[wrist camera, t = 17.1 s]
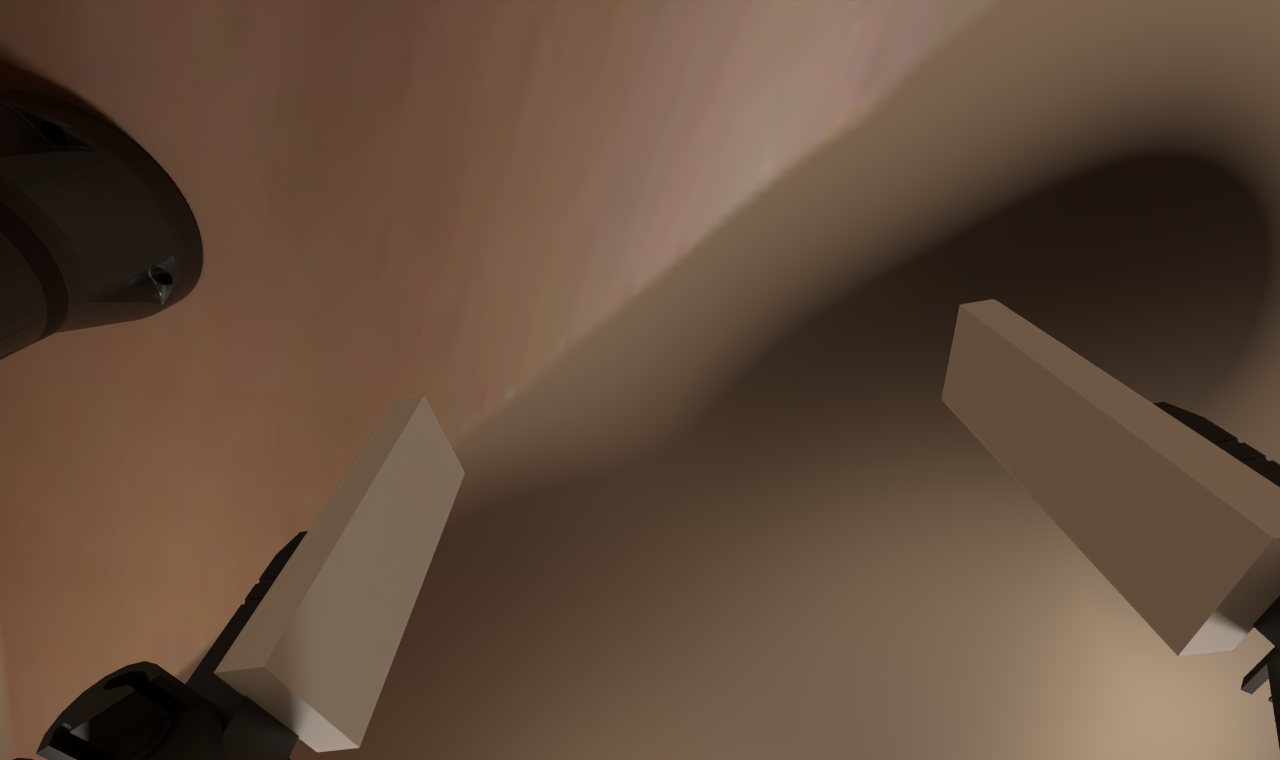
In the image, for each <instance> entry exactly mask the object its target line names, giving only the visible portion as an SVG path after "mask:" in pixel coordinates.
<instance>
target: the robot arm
mask: <svg viewBox="0 0 1280 760" xmlns="http://www.w3.org/2000/svg"><path fill="white" fill-rule="evenodd" d="M202 265H203V248H202V242H201V238H200V234H199V231H198V228H197V225H196V222H195V220H194V217H193V215H192V213H191V211H190V209H189V207H188V206H187V204H186V202H185V200H184V199H183V197H182V196H181V194H180V193H179V191H178V190H177V188H176V187H175V186H174V184H173V183H172V182H171V180H170V179H169V178H168V177H167V175H166V174H165V173H164V172H163V171H162V170H161V169H160V168H159V166H158V165H157V164H156V163H155V162H154V161H153V160H152V159H151V158H150V157H149V156H148V155H147V154H146V153H144V152H143V151H142V150H141V149H140V148H139V147H138V146H136V145H135V144H134V143H133V142H132V141H130V140H129V139H128V138H127V137H125V136H124V135H122V134H121V133H120V132H118V131H117V130H115V129H114V128H112V127H111V126H109V125H108V124H106V123H105V122H103V121H101V120H100V119H98V118H96V117H94V116H93V115H91V114H89V113H87V112H85V111H83V110H81V109H79V108H77V107H74V106H72V105H69V104H67V103H64V102H62V101H59V100H56V99H53V98H49V97H46V96H42V95H38V94H33V93H26V92H17V91H2V92H0V360H2V359H4V358H6V357H8V356H9V355H11V354H13V353H15V352H17V351H19V350H21V349H23V348H25V347H27V346H29V345H31V344H33V343H35V342H37V341H39V340H42V339H44V338H46V337H48V336H50V335H52V334H54V333H58V332H65V331H71V330H77V329H84V328H90V327H96V326H103V325H109V324H115V323H121V322H128V321H134V320H139V319H143V318H146V317H149V316H152V315H154V314H156V313H159V312H161V311H162V310H164V309H166V308H168V307H170V306H172V305H173V304H175V303H177V302H179V301H180V300H182V299H183V298H185V297H186V296H187V295H188V294H189V293H190V292H191V291H192V290H193V289H194V287H195V286H196V284H197V282H198V280H199V278H200V275H201V271H202ZM942 401H943V402H944V403H945V404H946V405H947V406H948V407H949V408H950V409H951V410H952V411H953V412H954V414H955V415H956V416H957V417H958V418H959V419H960V420H961V421H962V422H963V423H964V424H965V425H966V427H967V428H968V429H969V430H970V431H971V432H972V433H973V434H974V435H975V436H976V437H977V439H979V441H980V442H981V443H982V444H983V445H984V446H985V447H986V448H987V449H988V450H989V451H990V453H991V454H992V455H993V456H994V457H995V458H996V459H997V460H998V461H999V462H1000V463H1001V465H1002V466H1003V467H1004V468H1005V469H1006V470H1007V471H1008V472H1009V473H1010V474H1011V475H1012V477H1013V478H1014V479H1015V480H1016V481H1017V482H1018V483H1019V484H1020V485H1021V486H1022V487H1023V488H1024V490H1025V491H1026V492H1027V493H1028V494H1029V495H1030V496H1031V497H1032V498H1033V499H1034V500H1035V501H1036V502H1037V504H1038V505H1039V506H1040V507H1041V508H1042V509H1043V510H1044V511H1045V512H1046V513H1047V515H1048V516H1049V517H1050V518H1051V519H1052V520H1053V521H1054V522H1055V523H1056V524H1057V525H1058V526H1059V528H1060V529H1061V530H1062V531H1063V532H1064V533H1065V534H1066V535H1067V536H1068V537H1069V538H1070V539H1071V540H1072V542H1073V543H1074V544H1075V545H1076V546H1077V547H1078V548H1079V549H1080V550H1081V551H1082V552H1083V554H1085V556H1086V557H1087V558H1088V559H1089V560H1090V561H1091V562H1092V563H1093V564H1094V566H1095V567H1096V568H1097V569H1098V570H1099V571H1100V572H1101V573H1102V574H1103V575H1104V576H1105V577H1106V579H1107V580H1108V581H1109V582H1110V583H1111V584H1112V585H1113V586H1114V587H1115V588H1116V589H1117V591H1119V593H1120V594H1121V595H1122V596H1123V597H1124V598H1125V599H1126V600H1127V601H1128V602H1129V603H1130V605H1131V606H1132V607H1133V608H1134V609H1135V610H1136V611H1137V612H1138V613H1139V614H1140V615H1141V617H1142V618H1143V619H1144V620H1145V621H1146V622H1147V623H1148V624H1149V625H1150V626H1151V627H1152V629H1153V630H1154V631H1155V632H1156V633H1157V634H1158V635H1159V636H1160V637H1161V638H1162V639H1163V640H1164V642H1165V643H1166V644H1167V645H1168V646H1169V647H1170V648H1171V649H1172V650H1173V651H1174V652H1175V653H1176V655H1177V656H1184V655H1193V654H1202V653H1211V652H1220V651H1228V650H1233V649H1234V648H1235V647H1236V646H1237V645H1238V644H1239V643H1240V641H1241V640H1242V639H1243V638H1244V637H1245V636H1246V635H1247V634H1248V633H1249V632H1250V630H1252V628H1253V627H1255V628H1256V629H1257V630H1258V631H1259V632H1260V633H1261V634H1262V635H1264V636H1265V637H1266V638H1267V639H1268V640H1269V641H1270V642H1271V643H1272V644H1274V645H1275V647H1274V648H1273V649H1272V650H1271V651H1270V652H1269V653H1268V654H1267V655H1266V656H1265V657H1264V658H1263V659H1262V660H1261V661H1260V662H1259V663H1258V664H1257V665H1256V666H1255V667H1254V668H1253V669H1252V670H1251V671H1250V672H1249V673H1248V674H1247V675H1246V676H1245V677H1244V678H1243V683H1242V686H1241V690H1243V691H1245V692H1248V693H1250V694H1253V693H1254V692H1255V691H1256V690H1257V689H1258V688H1259V687H1260V686H1261V685H1262V684H1263V683H1264V682H1265V681H1266V680H1267V679H1269V682H1270V689H1271V695H1272V696H1271V697H1270V698H1269V701H1270V702H1272V703H1273V709H1274V715H1275V722H1276V728H1277V735H1278V741H1279V748H1280V465H1279V464H1278V463H1276V462H1274V461H1267V460H1266V458H1265V457H1266V456H1265V455H1263V454H1261V453H1260V452H1258V451H1257V450H1255V449H1254V448H1252V447H1251V446H1249V445H1247V444H1246V443H1239V442H1238V440H1237V438H1236V437H1234V436H1233V435H1231V434H1230V433H1228V432H1226V431H1225V430H1223V429H1222V428H1220V427H1218V426H1217V425H1215V424H1214V423H1212V422H1210V421H1209V420H1207V419H1206V418H1204V417H1201V416H1199V415H1196V414H1194V413H1191V412H1189V411H1186V410H1184V409H1181V408H1178V407H1176V406H1173V405H1171V404H1168V403H1166V402H1160V403H1153V404H1152V403H1151V402H1149V401H1148V400H1146V399H1145V398H1143V397H1141V396H1140V395H1139V394H1137V393H1136V392H1134V391H1132V390H1131V389H1130V388H1128V387H1127V386H1125V385H1124V384H1122V383H1121V382H1119V381H1118V380H1116V379H1115V378H1113V377H1112V376H1110V375H1108V374H1107V373H1105V372H1104V371H1102V370H1101V369H1099V368H1098V367H1096V366H1095V365H1093V364H1092V363H1090V362H1089V361H1087V360H1086V359H1084V358H1082V357H1081V356H1080V355H1078V354H1077V353H1075V352H1073V351H1072V350H1070V349H1069V348H1067V347H1066V346H1064V345H1063V344H1061V343H1060V342H1058V341H1057V340H1055V339H1054V338H1052V337H1051V336H1049V335H1048V334H1046V333H1045V332H1043V331H1042V330H1040V329H1039V328H1037V327H1036V326H1034V325H1033V324H1031V323H1029V322H1028V321H1027V320H1025V319H1024V318H1022V317H1020V316H1019V315H1017V314H1016V313H1014V312H1013V311H1011V310H1010V309H1008V308H1007V307H1005V306H1004V305H1002V304H1001V303H999V302H998V301H996V300H995V299H992V300H987V301H980V302H974V303H969V304H963V305H960V308H959V313H958V318H957V323H956V328H955V333H954V339H953V344H952V349H951V354H950V359H949V364H948V369H947V374H946V379H945V385H944V389H943V395H942ZM463 476H464V471H463V469H462V467H461V465H460V463H459V461H458V459H457V458H456V456H455V454H454V452H453V450H452V448H451V446H450V444H449V442H448V440H447V438H446V436H445V434H444V432H443V431H442V429H441V427H440V425H439V423H438V421H437V419H436V417H435V415H434V413H433V411H432V409H431V407H430V406H429V404H428V402H427V400H426V398H425V396H424V395H422V396H416V397H410V398H405V399H399V400H395V402H394V403H393V405H392V406H391V408H390V409H389V411H388V412H387V414H386V415H385V417H384V418H383V420H382V421H381V423H380V424H379V426H378V427H377V429H376V430H375V432H374V433H373V435H372V436H371V438H370V439H369V441H368V442H367V444H366V445H365V447H364V448H363V450H362V451H361V453H360V454H359V456H358V457H357V459H356V460H355V462H354V463H353V465H352V466H351V468H350V469H349V471H348V472H347V474H346V475H345V477H344V478H343V480H342V481H341V483H340V484H339V486H338V487H337V489H336V490H335V492H334V493H333V495H332V496H331V498H330V499H329V501H328V502H327V504H326V505H325V507H324V508H323V510H322V511H321V513H320V514H319V516H318V517H317V519H316V520H315V522H314V523H313V525H312V526H311V528H310V529H309V531H305V532H300V533H299V534H298V535H297V536H296V537H294V538H293V539H292V540H291V541H290V542H289V543H288V544H287V545H286V546H285V547H284V548H283V549H282V550H281V551H279V552H278V553H277V554H276V556H275V557H274V558H273V560H272V561H271V563H270V564H269V566H268V567H267V568H266V570H265V571H264V573H263V574H262V576H261V577H260V578H259V580H260V582H259V584H255V586H254V587H253V588H252V590H251V591H250V593H249V594H248V596H247V597H246V598H245V604H243V605H241V606H240V607H239V608H238V610H237V611H236V613H235V614H234V616H233V617H232V618H231V620H230V621H229V623H228V624H227V626H226V627H225V628H224V630H223V631H222V633H221V634H220V636H219V637H218V638H217V640H216V641H215V643H214V644H213V646H212V647H211V648H210V650H209V651H208V653H207V654H206V656H205V657H204V658H203V660H202V661H201V663H200V664H199V666H198V667H197V669H196V670H195V671H194V673H193V674H192V676H191V678H190V679H189V680H188V682H187V683H186V684H183V683H182V682H181V681H179V680H178V679H177V678H175V677H174V676H172V675H171V674H170V673H168V672H167V671H165V670H164V669H163V668H161V667H160V666H158V665H157V664H154V663H150V662H146V661H144V662H139V663H135V664H131V665H127V666H125V667H123V668H121V669H119V670H117V671H115V672H113V673H111V674H109V675H107V676H105V677H104V678H103V679H101V680H100V681H98V682H97V683H96V684H94V685H93V686H91V687H90V688H89V689H87V690H86V691H84V692H83V693H82V694H81V695H80V696H79V697H78V698H77V699H76V700H74V701H73V702H72V703H71V704H70V705H69V706H68V707H67V708H66V709H65V710H64V711H63V712H62V713H61V714H60V715H59V717H58V718H57V719H56V720H55V722H54V723H53V724H52V726H51V727H50V728H49V729H48V731H47V732H46V733H45V735H44V737H43V739H42V741H41V744H40V746H39V748H38V750H37V753H36V754H38V755H40V756H42V757H44V758H46V759H48V760H291V759H290V758H289V756H290V754H291V752H292V750H293V747H294V746H295V744H296V741H297V739H298V738H299V739H301V740H302V741H304V742H305V743H306V744H307V745H309V746H310V747H311V748H313V749H314V750H315V751H316V752H324V751H333V750H342V749H351V748H359V747H360V744H361V741H362V739H363V736H364V734H365V731H366V728H367V726H368V723H369V721H370V718H371V716H372V713H373V710H374V708H375V705H376V702H377V700H378V697H379V695H380V692H381V690H382V687H383V684H384V682H385V679H386V676H387V674H388V671H389V669H390V666H391V664H392V661H393V658H394V655H395V653H396V651H397V648H398V645H399V642H400V640H401V638H402V635H403V632H404V630H405V627H406V624H407V622H408V619H409V617H410V614H411V611H412V609H413V606H414V604H415V601H416V598H417V596H418V593H419V591H420V588H421V585H422V583H423V580H424V578H425V575H426V572H427V570H428V567H429V565H430V562H431V559H432V557H433V554H434V552H435V549H436V546H437V544H438V541H439V539H440V536H441V533H442V531H443V528H444V525H445V523H446V520H447V518H448V515H449V512H450V510H451V507H452V504H453V502H454V500H455V497H456V494H457V492H458V489H459V487H460V484H461V481H462V479H463ZM14 760H33V759H26V758H16V759H14Z"/></svg>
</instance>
